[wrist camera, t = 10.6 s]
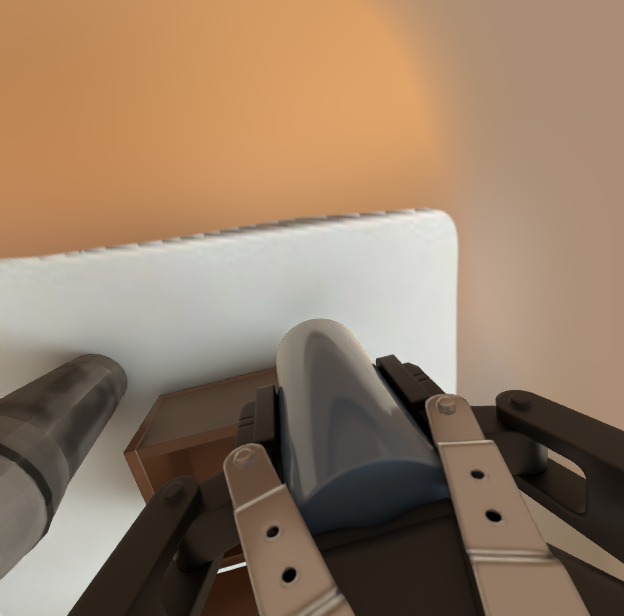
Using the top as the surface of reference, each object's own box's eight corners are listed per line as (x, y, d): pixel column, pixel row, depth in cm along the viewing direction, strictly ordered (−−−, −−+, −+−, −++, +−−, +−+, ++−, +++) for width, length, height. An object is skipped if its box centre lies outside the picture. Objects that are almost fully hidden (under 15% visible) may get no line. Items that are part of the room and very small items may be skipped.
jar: (286, 405, 17) (307, 634, 8) (266, 329, 16) (262, 490, 6) (365, 385, 18) (479, 581, 8) (351, 309, 16) (467, 435, 7)
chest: (159, 395, 26) (122, 453, 20) (344, 350, 27) (367, 390, 21) (199, 500, 29) (179, 580, 23) (364, 456, 30) (390, 520, 24)
